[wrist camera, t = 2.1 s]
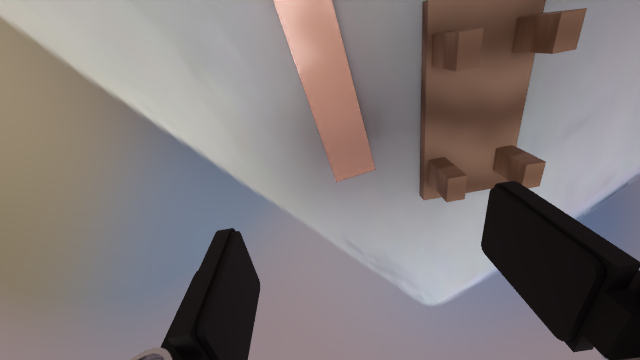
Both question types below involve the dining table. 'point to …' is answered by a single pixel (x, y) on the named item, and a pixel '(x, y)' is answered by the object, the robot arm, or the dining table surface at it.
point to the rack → (482, 90)
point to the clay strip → (327, 83)
